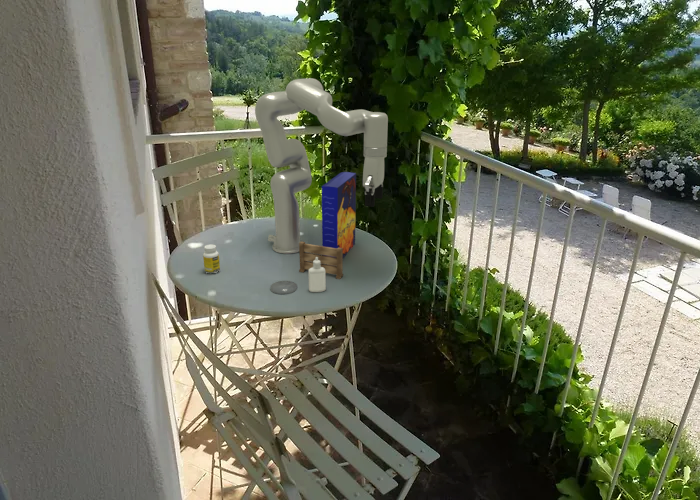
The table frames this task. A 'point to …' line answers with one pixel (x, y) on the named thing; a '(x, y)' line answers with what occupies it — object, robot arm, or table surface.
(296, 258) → the table surface
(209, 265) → the supplement bottle
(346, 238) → the cereal box
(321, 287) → the eye dropper bottle
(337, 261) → the brown piece
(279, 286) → the coaster
